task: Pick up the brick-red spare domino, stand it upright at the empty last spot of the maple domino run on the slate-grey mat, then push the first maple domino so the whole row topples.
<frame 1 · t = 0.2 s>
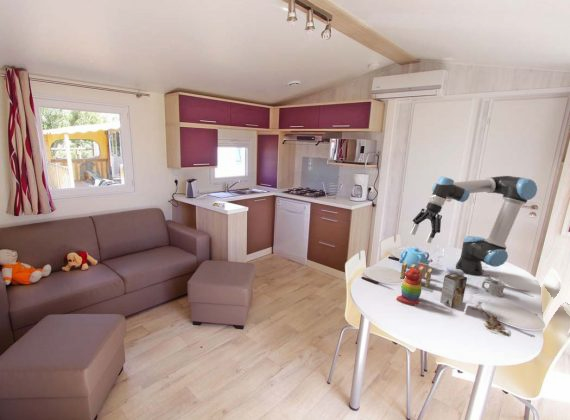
hand: (419, 238, 172), 27 cm above the table, tool tilted 15°, fingers open, 13 cm apart
domino 2: (418, 283, 173), point 1 cm above the table, touching domino mat
spare domino: (419, 278, 182), on the table
coffee box: (450, 305, 153), on the table
mug: (491, 292, 169), on the table
frog figurine: (494, 328, 136), on the table
domino 3: (410, 281, 176), point 1 cm above the table, touching domino mat
domino mat: (410, 282, 176), on the table
stacking bear: (408, 300, 156), on the table
domino 1: (426, 286, 171), point 1 cm above the table, touching domino mat
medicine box: (452, 284, 178), on the table
domino 4: (402, 279, 178), point 1 cm above the table, touching domino mat
decorative pot: (412, 267, 199), on the table
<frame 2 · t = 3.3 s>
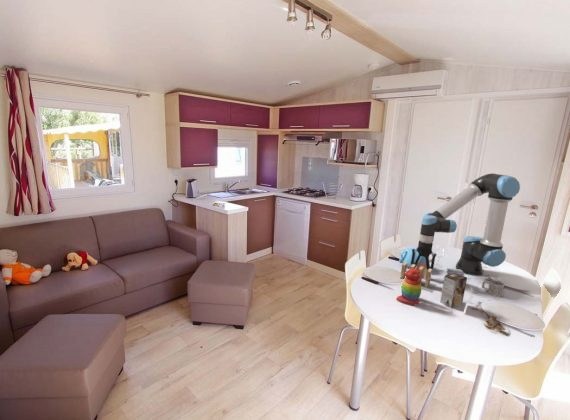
hand: (419, 277, 182), 1 cm above the table, tool pointing down, fingers closed on spare domino, 5 cm apart
spare domino: (419, 278, 182), on the table, touching gripper
everything else where it was.
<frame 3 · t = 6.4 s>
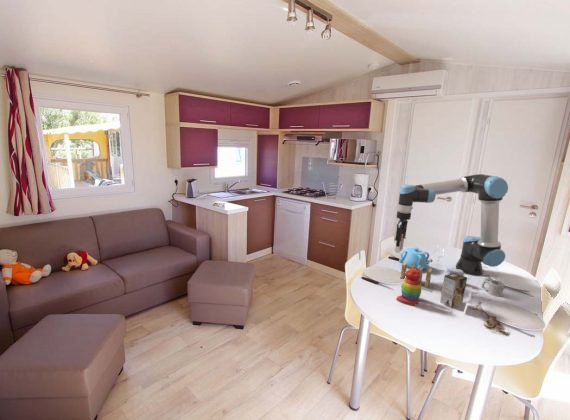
hand: (398, 250, 177), 18 cm above the table, tool pointing down, fingers closed on spare domino, 5 cm apart
spare domino: (398, 251, 177), point 17 cm above the table, touching gripper
everything else where it was.
when the fingers open (3 cm above the table, at t = 9.4 s): spare domino stays where it is, resting on domino mat.
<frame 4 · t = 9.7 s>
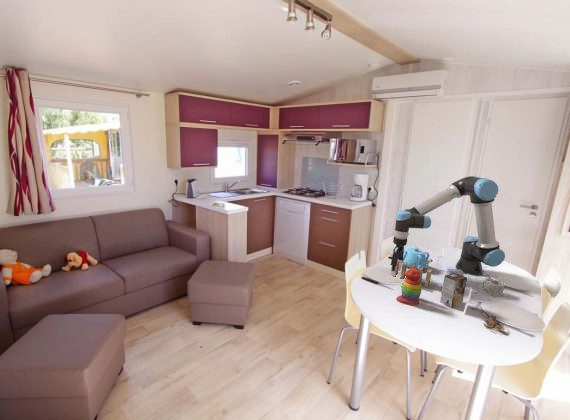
hand: (395, 272, 180), 4 cm above the table, tool pointing down, fingers open, 9 cm apart
spare domino: (394, 276, 181), point 1 cm above the table, touching domino mat
everything else where it was.
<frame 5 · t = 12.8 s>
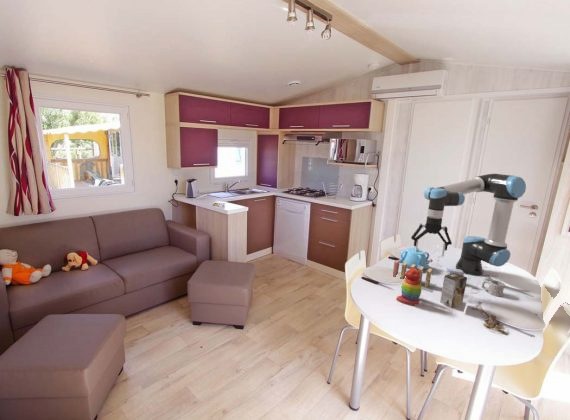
hand: (428, 253, 168), 20 cm above the table, tool pointing down, fingers open, 13 cm apart
nothing on the table moved.
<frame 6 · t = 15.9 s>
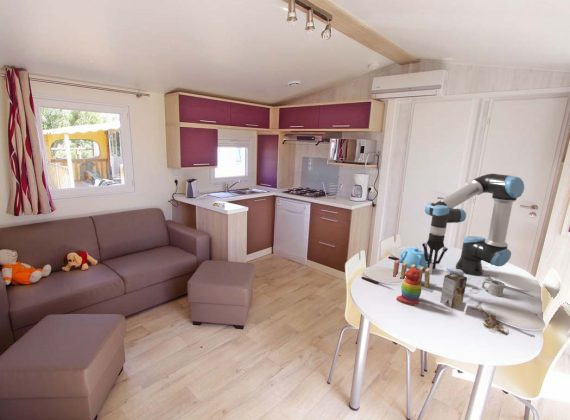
hand: (430, 273, 168), 9 cm above the table, tool pointing down, fingers closed
domino 1: (426, 286, 171), point 1 cm above the table, tilted 7°, touching domino mat, gripper
everything else where it was.
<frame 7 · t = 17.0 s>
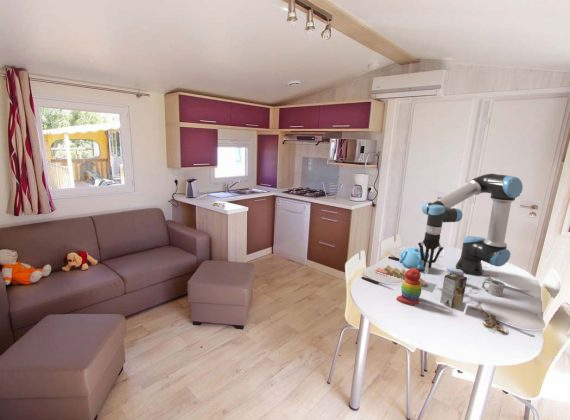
hand: (426, 272, 170), 9 cm above the table, tool pointing down, fingers closed
domino 2: (416, 281, 174), point 2 cm above the table, tilted 69°, touching domino 1, domino 3
spare domino: (393, 275, 181), point 2 cm above the table, tilted 90°, touching domino 4, domino mat
domino 3: (408, 279, 176), point 2 cm above the table, tilted 69°, touching domino 2, domino 4, domino mat
domino 1: (424, 284, 171), point 2 cm above the table, tilted 69°, touching domino 2, domino mat
domino 4: (400, 277, 179), point 2 cm above the table, tilted 69°, touching domino 3, spare domino
everything else where it was.
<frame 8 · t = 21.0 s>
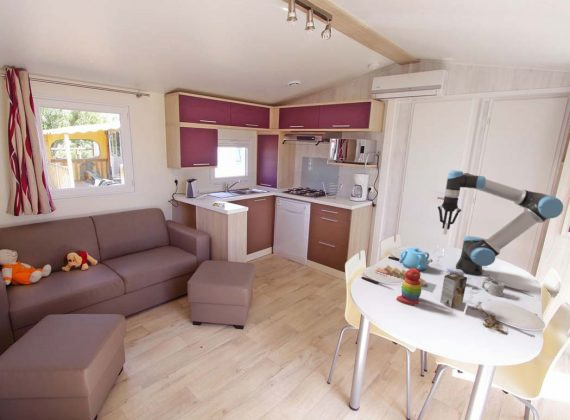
hand: (444, 233, 186), 26 cm above the table, tool pointing down, fingers closed
at the end: spare domino inside the target area (2.4 cm from its centre), point 1.8 cm above the table; domino 1 tilted 69°; spare domino tilted 90° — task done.
